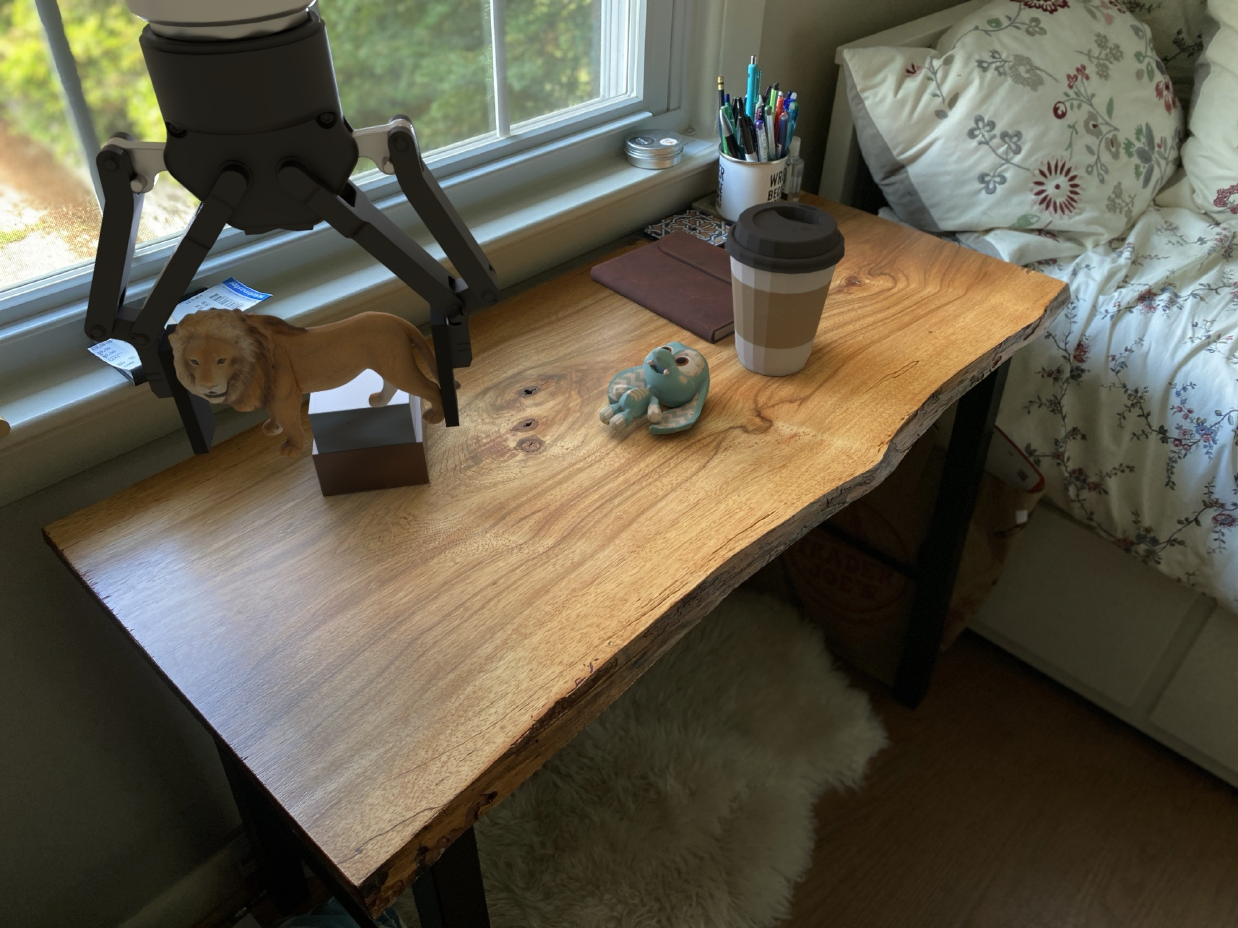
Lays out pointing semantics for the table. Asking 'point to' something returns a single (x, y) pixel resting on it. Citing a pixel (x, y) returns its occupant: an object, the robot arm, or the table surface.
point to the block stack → (367, 438)
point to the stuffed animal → (659, 390)
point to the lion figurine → (298, 363)
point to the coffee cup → (780, 282)
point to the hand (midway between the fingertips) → (331, 426)
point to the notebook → (677, 282)
